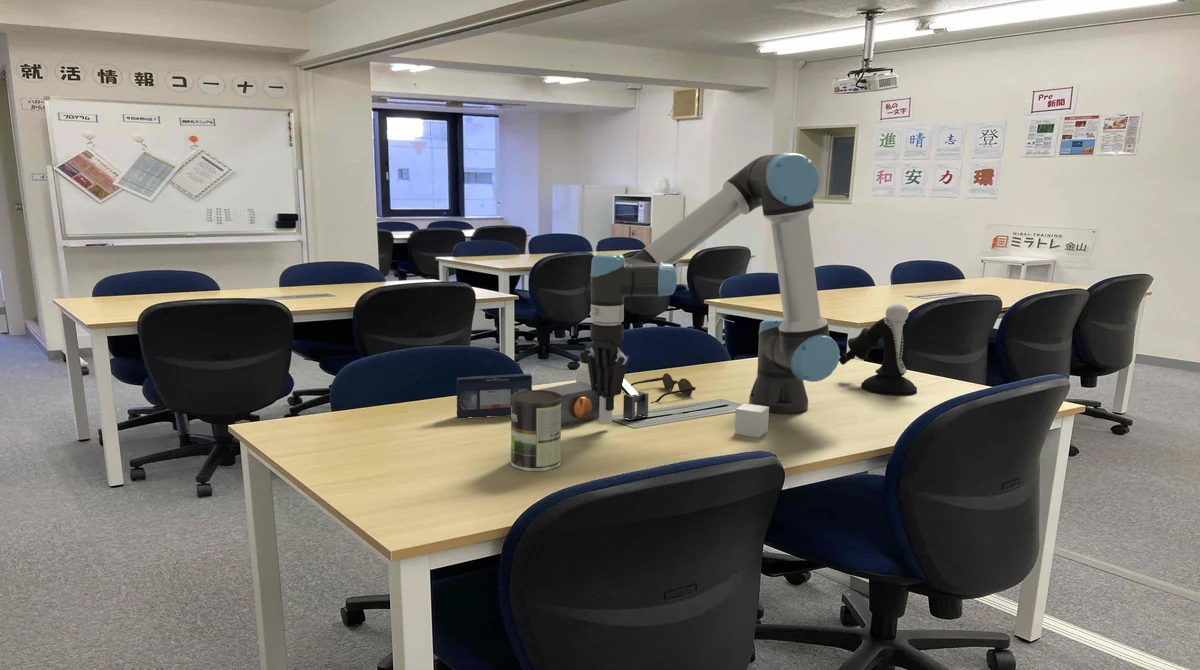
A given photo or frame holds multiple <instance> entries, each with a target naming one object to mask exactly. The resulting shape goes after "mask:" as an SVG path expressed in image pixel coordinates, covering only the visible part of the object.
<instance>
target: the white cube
mask: <svg viewBox="0 0 1200 670" xmlns="http://www.w3.org/2000/svg"><path fill="white" fill-rule="evenodd" d="M769 414H770V412H769V407H767V406H760V405H753V404H749V403H743V404H741V405H740V406H738V407H736V408H735V424H734V434H735V435H740V434H741V436H747V435H748V436H747V437H753V436H757V437H756V438H759V437H760V436H761V437H763V436H764V435H765V434H766V433H768V431H769ZM764 433H765V434H764ZM763 434H764V435H763ZM762 435H763V436H762ZM761 437H760V438H761Z"/></svg>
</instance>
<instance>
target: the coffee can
mask: <svg viewBox="0 0 1200 670" xmlns="http://www.w3.org/2000/svg"><path fill="white" fill-rule="evenodd" d="M510 400H511V416H510V465H511V467H513V468H515V469H516V470H519V471H520V470H521V471H525V472H547V471H551V470H554V469H556V468H559V466H560V465H561V464H562V460H561V452H562V451H561V450H562V449H561V447H562V445H561V444H562V442H561V441H562V426H561V401H562V395H560V394H559V393H556V392H552V391H546V390H538V389H532V390H527V391H520V392H517V393H514V394H512V395H511V397H510Z"/></svg>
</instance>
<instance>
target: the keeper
mask: <svg viewBox="0 0 1200 670" xmlns="http://www.w3.org/2000/svg"><path fill="white" fill-rule="evenodd" d="M622 391H623V392H625V393H624V395H625V394H628V395H632V396H635V403H637V402H640V401H643V399H644V397H643V394H642V393H637V392H638V391H637V390H635V389H634V388H633V386H631V383H629V382H628V381H627V380H626V379H625V378H624V381H623V386H622Z"/></svg>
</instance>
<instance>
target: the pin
mask: <svg viewBox="0 0 1200 670" xmlns="http://www.w3.org/2000/svg"><path fill="white" fill-rule="evenodd" d="M591 410H592V403H591V401H590V399H588V398H586V397H582V396H581V397H578V398H576V399H574V400H573V405H572V413H573V415H574V416H575V417H577V418H580V419H585V418H587V417H588V416H589V414H590V413H591Z"/></svg>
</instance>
